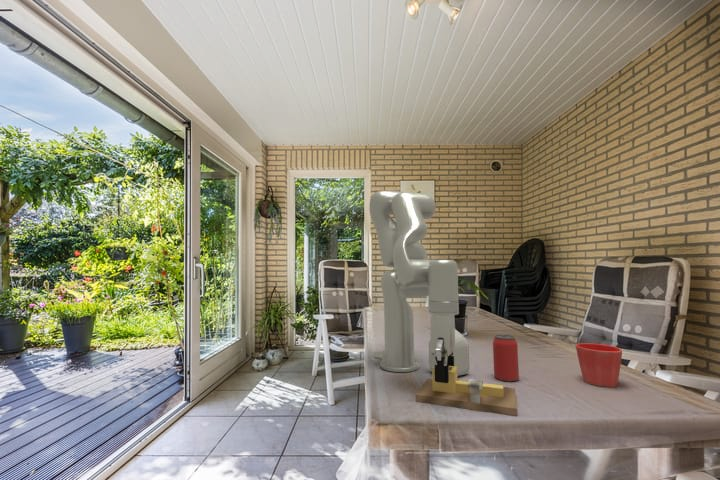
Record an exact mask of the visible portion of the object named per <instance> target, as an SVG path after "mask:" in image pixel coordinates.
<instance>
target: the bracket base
mask: <svg viewBox="0 0 720 480" xmlns="http://www.w3.org/2000/svg"><path fill="white" fill-rule="evenodd" d="M448 370H449V371H450V368H449V366H448ZM467 382H468V388H470V393H463V392H456V393H455V394H454V393H447V392H439V391H433V384H432V378H429V377H428V378H427V379H426V380H425V381H424V383H423V385H422V386H420V388H419V389H418V390H417V393H416V394H415V402H418V403H425V404H430V405H431V404H432V405H438V406H446V407H453V408H461V409H465V410H466V409H467V410H471V411H472V410H474V411H480V412H487V413H493V414H501V415H507V416H515V417H517V416H518V406H517V405H518V404H517V394H516V387H509V386H508V387H507V386H503V392H504V398H503V397H495V396H487V395H480V389H482V385H483V383H484V380H483V379H475V378H469V379H468V380H467Z"/></svg>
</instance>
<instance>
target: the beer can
mask: <svg viewBox="0 0 720 480" xmlns="http://www.w3.org/2000/svg"><path fill="white" fill-rule="evenodd" d="M493 337H494V338H493V341H492V351H493V352H492V353H493V356H492V357H493V375H494V377H495V379H497V380H499V381H502V382H507V383H509V382H511V383H512V382H516V381H518V380H519V378H520V371H519V350H518V342H517V340H516V337H515V336H514V335H510V334H495V335H494V336H493Z"/></svg>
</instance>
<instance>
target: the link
mask: <svg viewBox="0 0 720 480" xmlns="http://www.w3.org/2000/svg"><path fill="white" fill-rule="evenodd" d="M449 368H450V371H449V370H448V372H449V382H448V383H441V382H436V381H435V367H434V368H433V369H432V371H431V374H432V376H431V377H432V378H431V379H432V384H433V391H439V392H447V393H454V394H455V393H456V392H463V393H470V388H468V380H467V381H465V380H458V377H459V376H458V375H457V366H449ZM503 387H504V385H501V384H492V383H484V382H483V385H482V389H480V395H487V396H495V397H503V398H504V392H503Z"/></svg>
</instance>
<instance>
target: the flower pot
mask: <svg viewBox="0 0 720 480" xmlns="http://www.w3.org/2000/svg"><path fill="white" fill-rule="evenodd" d="M575 350H576V353H577V359H578V362H579V363H578V364H579V367H580V372H581V375H582V379H583V381H584V382H585V383H587V384H589V385H593V386H597V387H607V388H612V387H613V388H615V387H617V386H618V384H619V379H620V378H619V377H620V371H621V365H622V357H623V356H622V355H623V350H622V349H621V348H620V347H617V346H613V345H608V344H601V343H588V342H587V343H586V342H585V343H582V342H581V343H580V342H579V343H576V344H575Z"/></svg>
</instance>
